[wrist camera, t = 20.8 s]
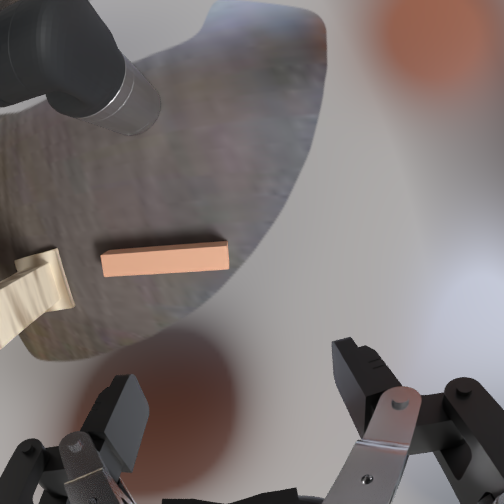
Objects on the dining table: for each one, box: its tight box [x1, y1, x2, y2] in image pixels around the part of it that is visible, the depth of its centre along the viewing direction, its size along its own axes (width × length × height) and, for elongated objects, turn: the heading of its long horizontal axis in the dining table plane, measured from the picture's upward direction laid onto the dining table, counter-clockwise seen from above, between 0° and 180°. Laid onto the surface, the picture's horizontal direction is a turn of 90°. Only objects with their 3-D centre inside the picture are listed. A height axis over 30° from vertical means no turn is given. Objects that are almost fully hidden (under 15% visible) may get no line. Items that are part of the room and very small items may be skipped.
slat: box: [101, 241, 229, 277], centre depth 47 cm, size 20×4×4 cm, turn 93°
